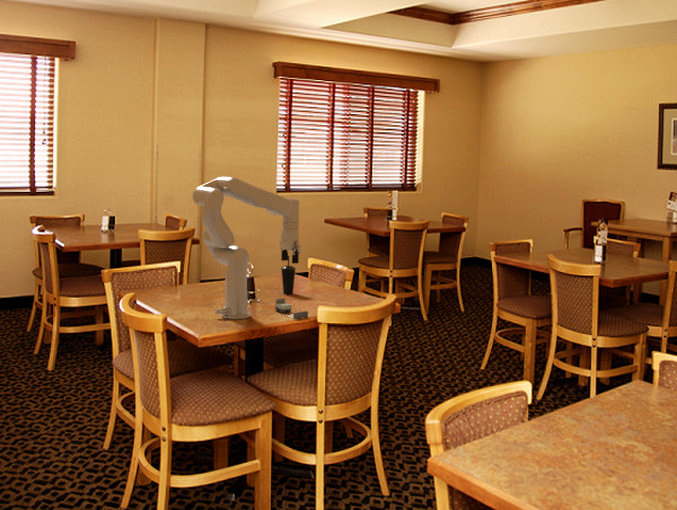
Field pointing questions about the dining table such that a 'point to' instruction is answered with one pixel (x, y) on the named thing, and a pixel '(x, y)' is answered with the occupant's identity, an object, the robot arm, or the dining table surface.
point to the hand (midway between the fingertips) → (289, 261)
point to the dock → (298, 315)
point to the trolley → (282, 305)
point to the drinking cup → (288, 278)
